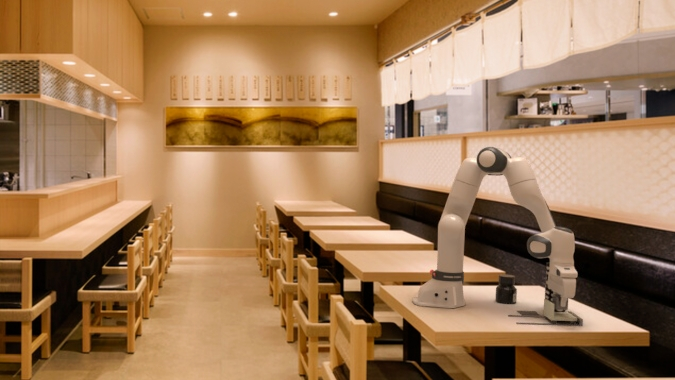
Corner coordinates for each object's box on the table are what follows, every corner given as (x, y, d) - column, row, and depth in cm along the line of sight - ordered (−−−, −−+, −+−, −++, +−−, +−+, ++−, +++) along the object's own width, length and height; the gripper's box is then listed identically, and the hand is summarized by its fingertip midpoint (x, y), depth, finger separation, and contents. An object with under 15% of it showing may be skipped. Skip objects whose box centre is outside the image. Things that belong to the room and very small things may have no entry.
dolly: (550, 324, 246) (551, 304, 245) (543, 318, 255) (544, 299, 254) (577, 325, 246) (578, 305, 245) (568, 319, 255) (569, 299, 254)
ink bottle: (519, 305, 278) (520, 278, 277) (499, 305, 277) (501, 277, 276) (511, 300, 287) (512, 273, 287) (492, 300, 286) (493, 273, 286)
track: (516, 325, 244) (517, 317, 244) (507, 316, 256) (508, 309, 256) (582, 327, 244) (583, 319, 244) (570, 318, 256) (570, 311, 256)
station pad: (521, 316, 258) (521, 315, 258) (516, 311, 266) (516, 310, 266) (541, 316, 258) (541, 315, 258) (535, 312, 266) (535, 311, 266)
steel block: (556, 309, 248) (556, 296, 248) (552, 306, 252) (552, 294, 252) (567, 309, 248) (568, 297, 248) (563, 307, 252) (564, 294, 252)
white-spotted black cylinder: (562, 314, 264) (565, 266, 263) (541, 311, 268) (544, 263, 267) (567, 310, 271) (569, 263, 270) (546, 307, 275) (549, 261, 274)
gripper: (544, 264, 260) (542, 298, 260) (562, 273, 239) (560, 310, 240) (560, 264, 260) (558, 298, 260) (579, 274, 239) (577, 310, 240)
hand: (559, 304), depth 250 cm, fingers closed on steel block, 4 cm apart
